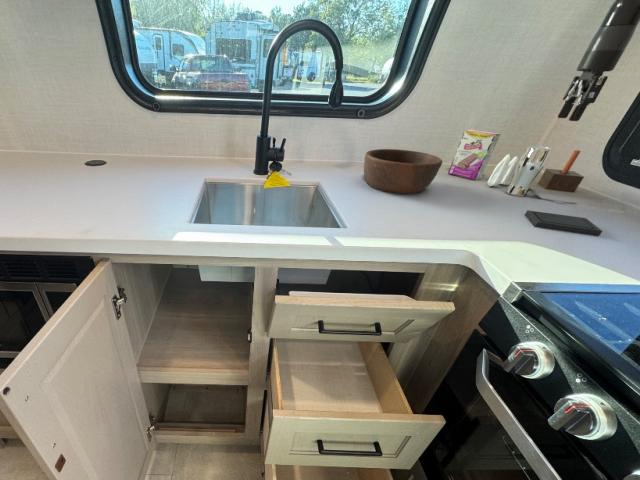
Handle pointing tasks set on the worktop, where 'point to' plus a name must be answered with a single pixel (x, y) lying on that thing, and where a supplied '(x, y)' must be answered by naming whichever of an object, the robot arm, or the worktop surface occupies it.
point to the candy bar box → (473, 154)
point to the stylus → (571, 161)
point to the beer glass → (528, 169)
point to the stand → (560, 180)
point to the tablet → (561, 227)
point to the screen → (562, 220)
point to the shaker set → (503, 171)
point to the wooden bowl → (400, 170)
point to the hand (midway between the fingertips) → (567, 119)
